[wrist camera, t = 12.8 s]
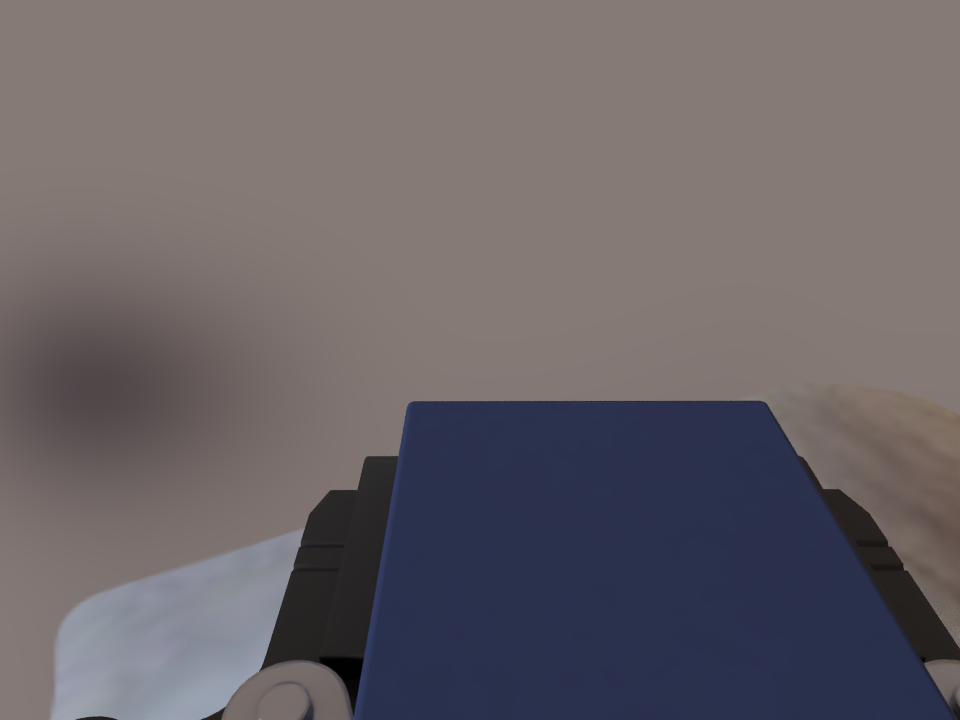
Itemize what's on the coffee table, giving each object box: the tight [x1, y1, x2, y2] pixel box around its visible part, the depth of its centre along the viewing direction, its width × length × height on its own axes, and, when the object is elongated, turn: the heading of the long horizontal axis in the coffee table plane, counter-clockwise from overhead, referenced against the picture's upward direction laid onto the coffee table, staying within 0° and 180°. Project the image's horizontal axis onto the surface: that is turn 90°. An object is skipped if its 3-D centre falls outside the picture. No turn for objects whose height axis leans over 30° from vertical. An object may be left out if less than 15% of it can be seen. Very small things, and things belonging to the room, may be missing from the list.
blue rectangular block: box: [353, 401, 957, 720], centre depth 13 cm, size 11×5×11 cm, turn 0°
